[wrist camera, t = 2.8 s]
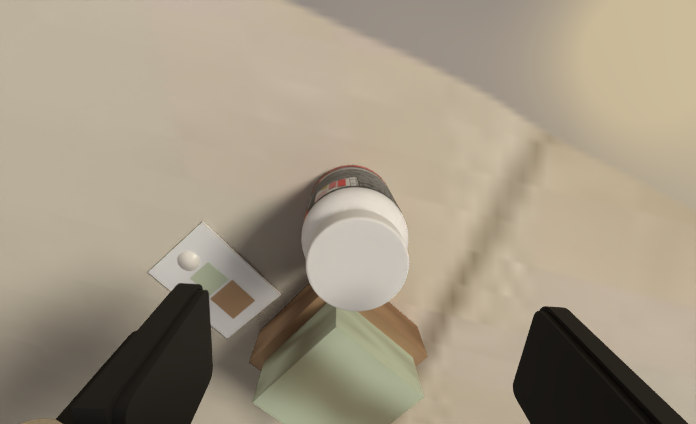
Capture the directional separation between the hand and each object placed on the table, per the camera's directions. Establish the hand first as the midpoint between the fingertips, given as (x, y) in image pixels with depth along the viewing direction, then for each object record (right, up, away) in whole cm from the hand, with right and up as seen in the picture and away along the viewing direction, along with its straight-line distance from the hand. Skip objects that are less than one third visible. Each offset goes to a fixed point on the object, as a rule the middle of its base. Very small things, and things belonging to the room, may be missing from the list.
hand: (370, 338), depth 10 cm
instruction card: (-11, -2, +16) cm, 20 cm away
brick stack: (-1, -6, +18) cm, 19 cm away
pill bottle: (0, +4, +15) cm, 16 cm away
